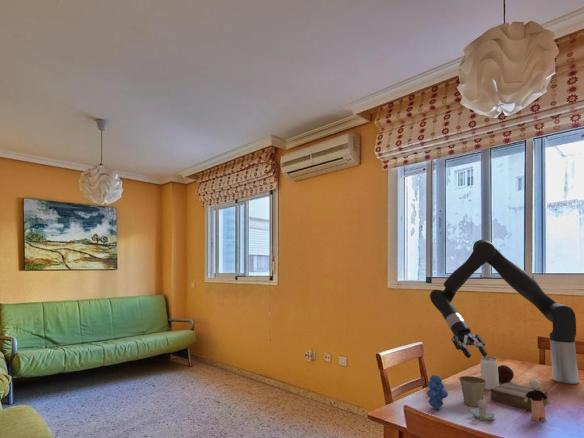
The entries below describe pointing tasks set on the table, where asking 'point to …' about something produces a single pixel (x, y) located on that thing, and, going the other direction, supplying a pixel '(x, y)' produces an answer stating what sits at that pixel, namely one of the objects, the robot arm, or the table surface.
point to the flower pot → (472, 389)
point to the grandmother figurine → (536, 400)
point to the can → (489, 372)
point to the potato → (505, 373)
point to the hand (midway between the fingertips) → (477, 356)
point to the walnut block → (513, 395)
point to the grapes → (436, 392)
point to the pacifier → (482, 412)
